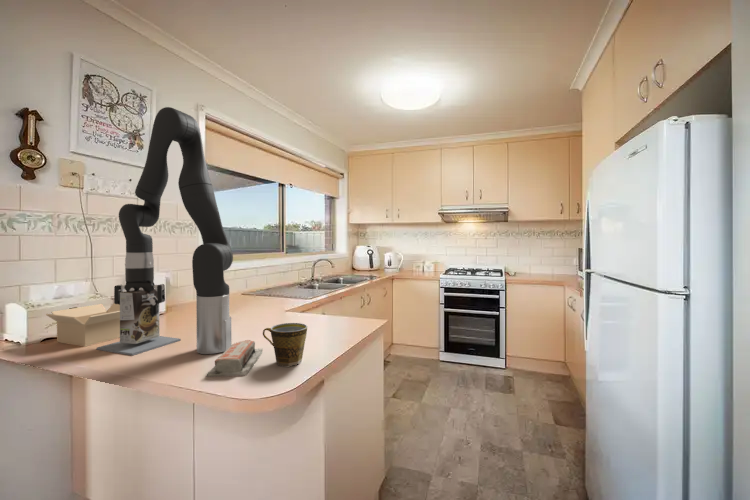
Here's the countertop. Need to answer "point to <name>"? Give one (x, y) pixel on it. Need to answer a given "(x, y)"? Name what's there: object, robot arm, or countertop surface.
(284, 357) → the ceramic cup
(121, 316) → the coffee box
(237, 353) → the packaged product
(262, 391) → the countertop surface
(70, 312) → the carton
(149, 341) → the mat
